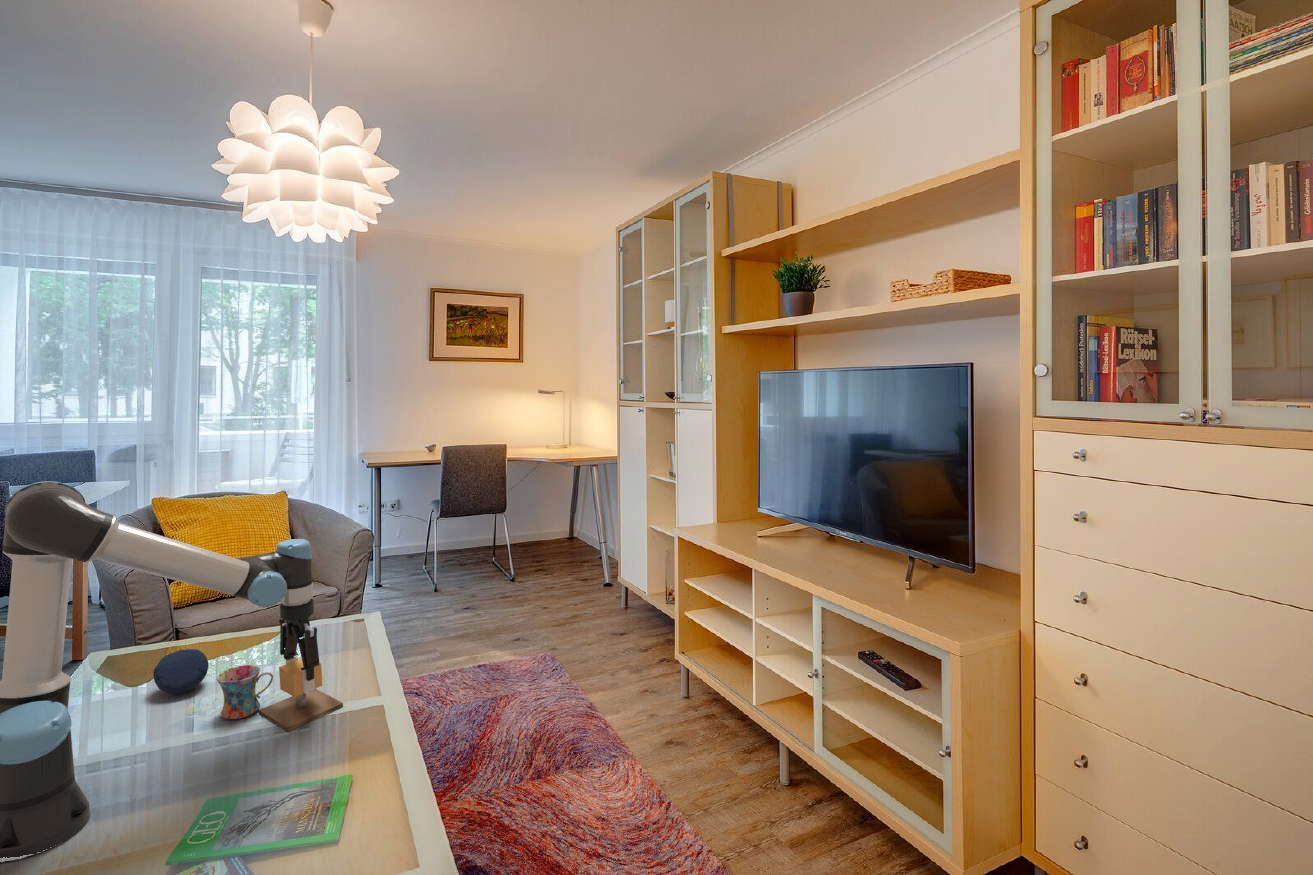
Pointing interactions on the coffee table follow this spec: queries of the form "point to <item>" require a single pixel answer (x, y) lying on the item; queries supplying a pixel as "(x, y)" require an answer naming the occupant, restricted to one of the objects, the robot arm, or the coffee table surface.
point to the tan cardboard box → (296, 677)
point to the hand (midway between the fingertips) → (300, 686)
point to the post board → (300, 709)
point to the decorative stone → (181, 671)
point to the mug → (240, 691)
